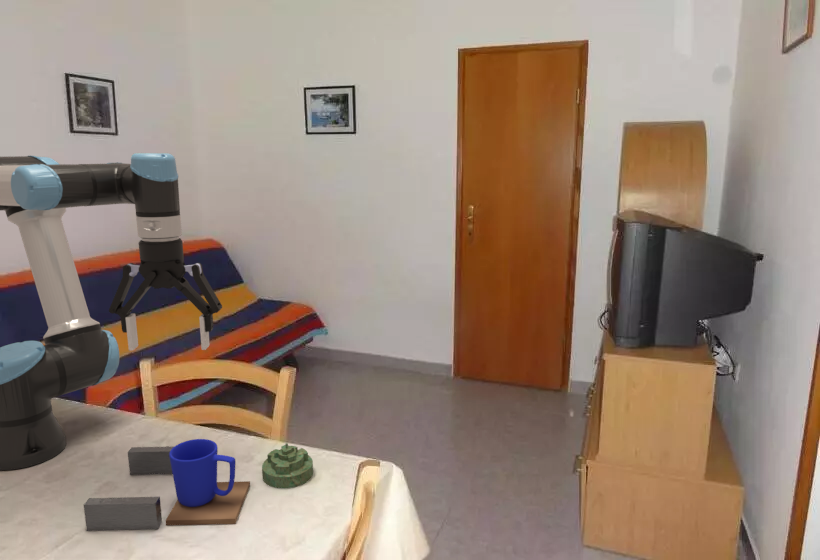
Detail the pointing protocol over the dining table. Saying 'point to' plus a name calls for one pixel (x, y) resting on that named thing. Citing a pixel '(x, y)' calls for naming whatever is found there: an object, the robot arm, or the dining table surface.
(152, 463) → the vise jaws
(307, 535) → the dining table surface
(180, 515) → the walnut board
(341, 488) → the dining table surface
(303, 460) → the decorative artifact
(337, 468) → the dining table surface
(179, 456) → the mug
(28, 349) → the robot arm
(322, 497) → the dining table surface
